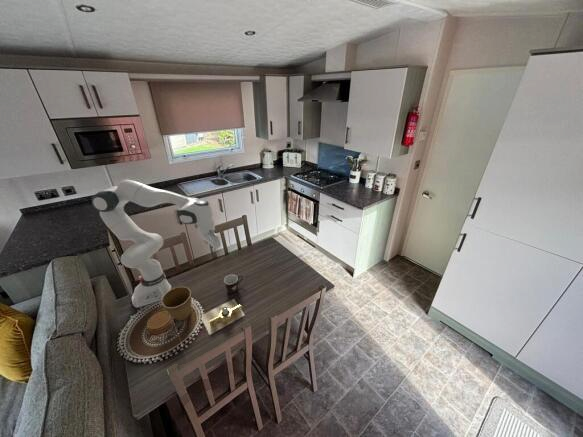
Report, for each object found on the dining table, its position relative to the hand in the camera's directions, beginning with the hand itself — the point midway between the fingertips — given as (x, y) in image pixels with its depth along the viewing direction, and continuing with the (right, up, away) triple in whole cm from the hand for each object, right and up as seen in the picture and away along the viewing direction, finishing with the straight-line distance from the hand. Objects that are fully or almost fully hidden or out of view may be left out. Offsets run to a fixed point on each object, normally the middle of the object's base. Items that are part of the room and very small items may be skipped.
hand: (210, 247), depth 139 cm
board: (+8, -40, -1) cm, 41 cm away
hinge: (+11, -40, -4) cm, 42 cm away
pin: (+10, -40, -4) cm, 42 cm away
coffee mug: (+11, -30, +16) cm, 36 cm away
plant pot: (-16, -40, -1) cm, 43 cm away
